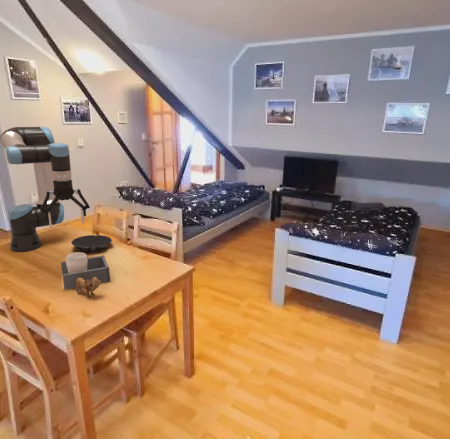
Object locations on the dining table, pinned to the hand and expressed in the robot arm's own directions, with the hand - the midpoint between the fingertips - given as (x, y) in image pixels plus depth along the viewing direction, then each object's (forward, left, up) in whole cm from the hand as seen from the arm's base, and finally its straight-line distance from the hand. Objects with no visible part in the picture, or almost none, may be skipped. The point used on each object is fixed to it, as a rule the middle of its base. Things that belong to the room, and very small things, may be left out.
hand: (67, 224), depth 155 cm
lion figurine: (+24, +4, -25) cm, 34 cm away
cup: (+9, +2, -25) cm, 26 cm away
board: (-27, +12, -25) cm, 39 cm away
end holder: (+9, +5, -24) cm, 26 cm away
